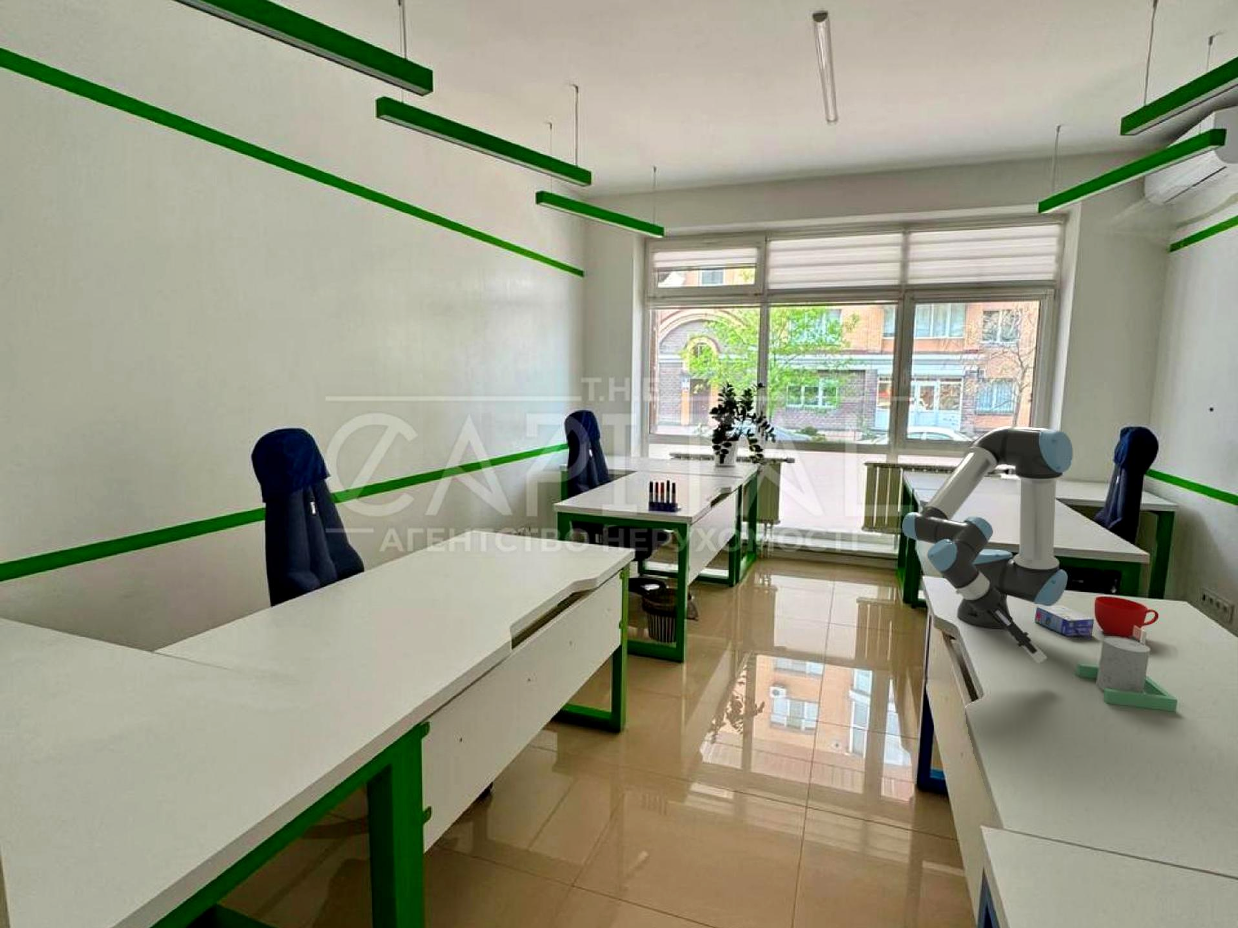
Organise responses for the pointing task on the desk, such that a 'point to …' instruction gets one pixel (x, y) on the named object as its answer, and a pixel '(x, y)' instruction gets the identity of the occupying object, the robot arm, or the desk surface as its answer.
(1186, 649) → the desk surface
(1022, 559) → the robot arm
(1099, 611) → the ceramic cup
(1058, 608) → the ink cartridge box
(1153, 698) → the green angular frame
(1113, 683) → the speckled concrete drum
